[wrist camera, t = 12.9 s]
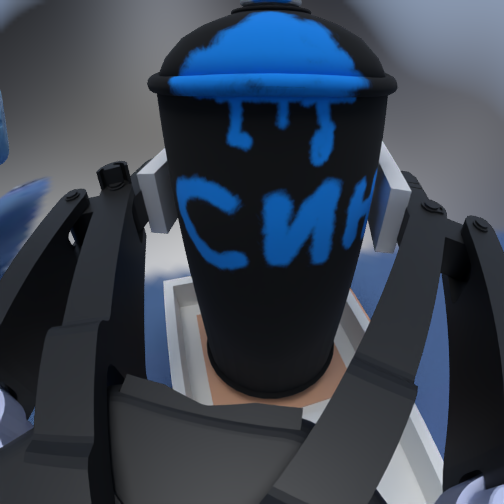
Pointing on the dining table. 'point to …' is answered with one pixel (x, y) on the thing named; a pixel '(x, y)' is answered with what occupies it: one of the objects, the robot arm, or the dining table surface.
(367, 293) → the dining table surface
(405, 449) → the tray
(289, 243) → the aerosol can
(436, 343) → the dining table surface
